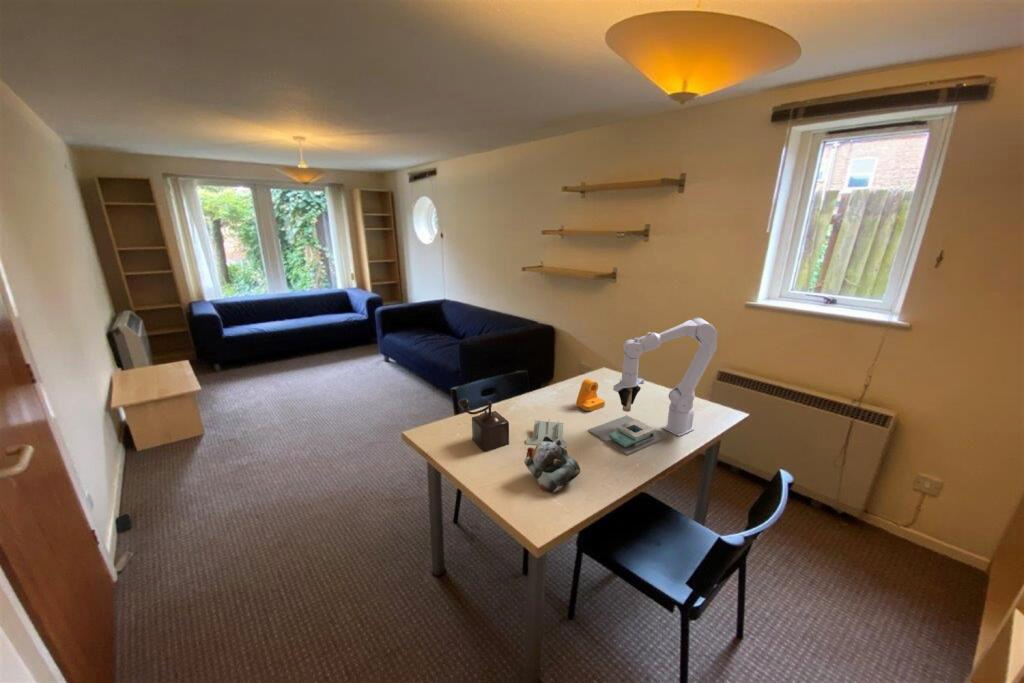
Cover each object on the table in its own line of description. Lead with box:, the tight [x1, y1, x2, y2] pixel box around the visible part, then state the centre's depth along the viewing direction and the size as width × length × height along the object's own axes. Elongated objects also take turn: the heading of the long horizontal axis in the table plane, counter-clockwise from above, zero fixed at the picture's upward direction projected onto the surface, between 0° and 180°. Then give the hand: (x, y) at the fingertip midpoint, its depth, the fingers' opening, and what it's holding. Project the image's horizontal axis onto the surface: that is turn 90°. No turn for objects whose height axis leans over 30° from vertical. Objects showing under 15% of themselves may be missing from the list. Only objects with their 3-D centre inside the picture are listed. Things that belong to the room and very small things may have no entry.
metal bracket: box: [525, 418, 568, 449], centre depth 149 cm, size 14×6×15 cm
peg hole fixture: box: [609, 419, 656, 447], centre depth 146 cm, size 15×9×4 cm, turn 123°
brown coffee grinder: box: [458, 397, 510, 453], centre depth 143 cm, size 16×11×18 cm
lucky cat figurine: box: [523, 436, 581, 493], centre depth 124 cm, size 15×12×14 cm
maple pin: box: [622, 388, 632, 413], centre depth 153 cm, size 3×3×9 cm
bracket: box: [575, 378, 606, 412], centre depth 172 cm, size 11×7×12 cm, turn 124°
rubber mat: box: [587, 414, 669, 456], centre depth 151 cm, size 22×20×1 cm
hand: (627, 404), depth 154 cm, fingers closed on maple pin, 3 cm apart
